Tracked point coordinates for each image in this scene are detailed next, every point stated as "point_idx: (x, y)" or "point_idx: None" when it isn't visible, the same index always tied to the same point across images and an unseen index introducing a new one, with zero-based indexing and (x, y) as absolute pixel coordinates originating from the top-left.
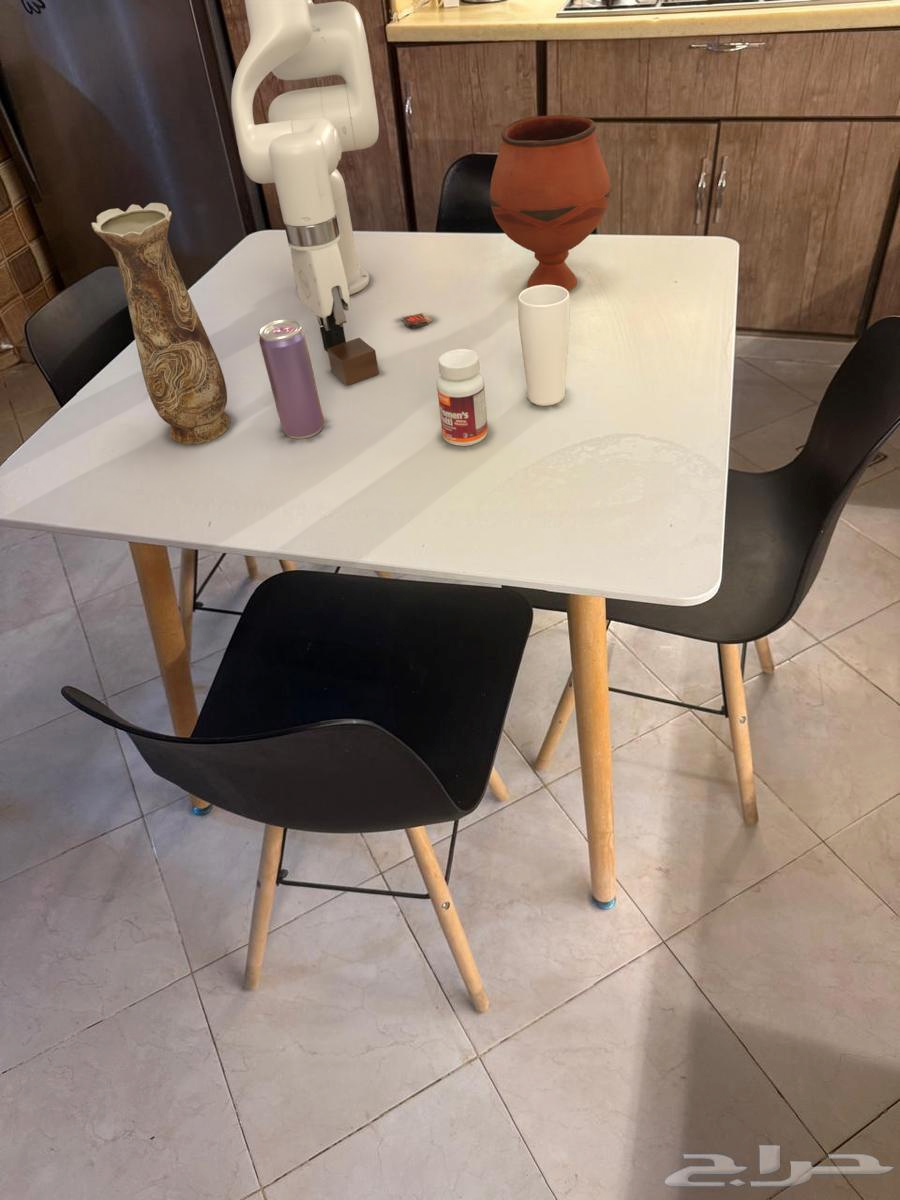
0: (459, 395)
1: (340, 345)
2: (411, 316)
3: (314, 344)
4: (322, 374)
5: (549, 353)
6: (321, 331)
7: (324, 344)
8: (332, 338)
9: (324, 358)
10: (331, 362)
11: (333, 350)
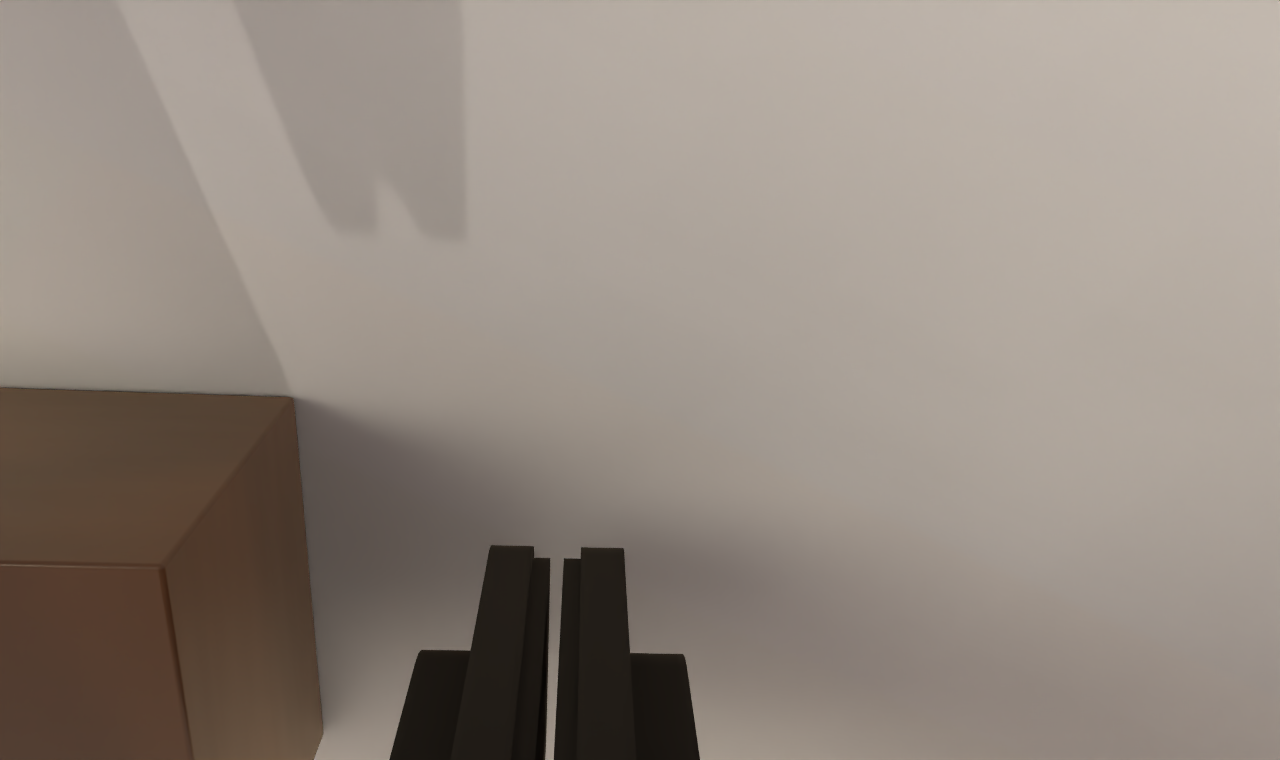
0: None
1: (135, 744)
2: None
3: (1080, 539)
4: (326, 292)
5: None
6: (594, 743)
7: (580, 602)
8: (394, 756)
9: (688, 480)
10: (165, 462)
11: (25, 609)
